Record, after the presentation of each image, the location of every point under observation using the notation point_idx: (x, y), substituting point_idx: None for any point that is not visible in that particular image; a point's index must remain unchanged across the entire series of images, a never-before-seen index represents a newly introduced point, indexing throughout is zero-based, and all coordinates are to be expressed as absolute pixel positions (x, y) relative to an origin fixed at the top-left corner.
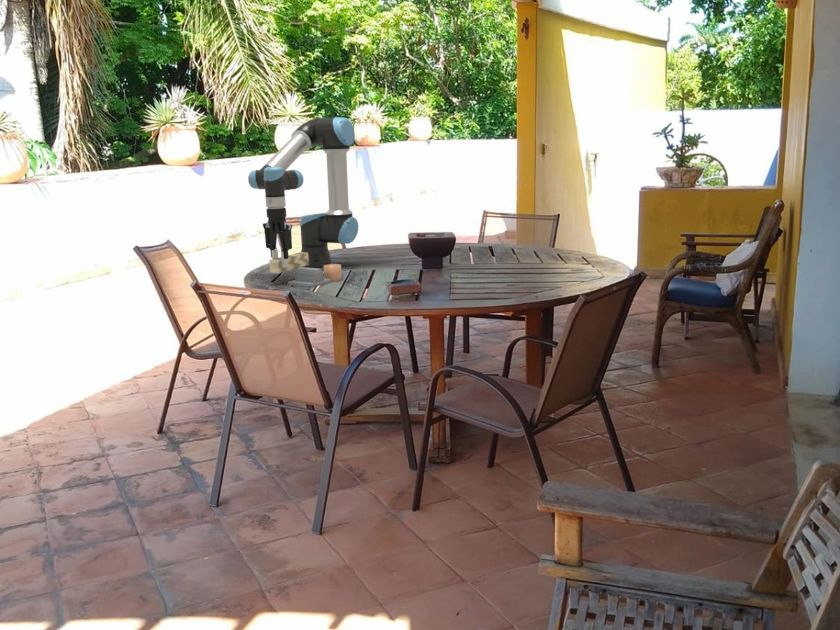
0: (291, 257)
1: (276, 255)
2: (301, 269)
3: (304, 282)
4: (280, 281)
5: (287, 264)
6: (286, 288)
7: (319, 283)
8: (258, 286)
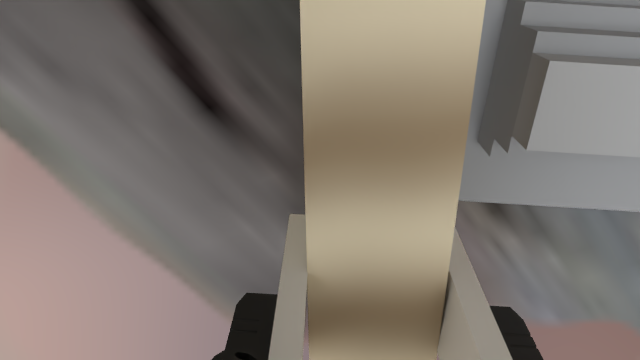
0: (462, 162)
1: (304, 324)
2: (594, 151)
3: (604, 174)
4: (269, 77)
5: (457, 243)
6: (493, 277)
7: None
8: (260, 293)
